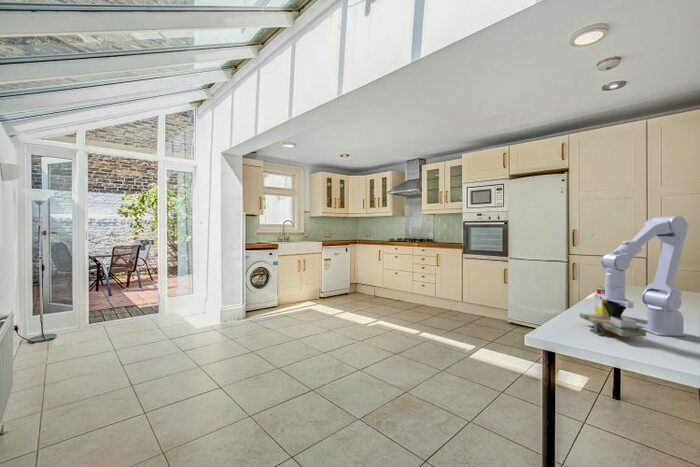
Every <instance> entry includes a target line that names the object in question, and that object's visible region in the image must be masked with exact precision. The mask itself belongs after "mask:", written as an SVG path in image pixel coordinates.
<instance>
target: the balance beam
mask: <svg viewBox="0 0 700 467" xmlns="http://www.w3.org/2000/svg"><path fill="white" fill-rule="evenodd" d="M579 318H580V319H583V320H585V321H588V322H589V323H592V324H594V322H600V323H601V328H602V329H607V330H609V331H611V332H614V333H616V334H618V335H620V336H619V337H647V331H646V330H643V329H641V328H638V327H636V331H629V330H620V329H618V328H616V327H613V326H611V325H610V318H609V316H606V315H604V314H601V313H598V314H595V313H593V314H591V313H589V314H588V313H583V312H580V313H579Z"/></svg>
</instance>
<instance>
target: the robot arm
mask: <svg viewBox="0 0 700 467" xmlns="http://www.w3.org/2000/svg"><path fill="white" fill-rule="evenodd" d="M688 228H689V223H688V222H687V220H686V219H685V218H684V217H683V216H681V215H675V216H651V217H650V218H648V220H647V221H645V222H644V227H642V229H641V230H640V231H639V232H637V234H636V235H635V236H634V237H633V238H632V239H631V240H630V239H628V240H624V241H622V242H621V244H620V245H619V246H618V247H616V249H614V250H613V251H612V252H611V253H607V254H605V255H604V256H603V257H602V258H601V260H600V264H601V266H602V268H603V273H604V276H605V277H604V287H605V294H598V299H603V300H606V301H607V303H603V305H604V306H605V308H606V310H607V312H608V315H609V318H610V316H622V315H623V313H624V311H626V309H634V304H635V303H634V302H633V301H630V300H629V299H626V270H627V269H629V268H630V266H631V263H632V261H633V259H634V258H636V256H637V255H638V254H640V253H641V252H642V250H643V248H642V246H644V245H645V244H646V243H648V242H649V241H650V240H651V239H653V238H654V237H655V238H657V239H659V240H661V242H662V248H661V252H660V254H659V260H658V265H657V268H656V272H655V276H654V280H653V282H651V283H649V284H647V285H646V287H645V289H644V291H643V292H642V294H641V302H642V303H643V304H644V305H645V308H647V327H640V329H641V330H644V331H646V332H649V333H651V334H653V335H656V336H666V337H667V336H668V337H669V336H670V337H671V336H673V337H675V336H677V337H679V336H680V337H684V336H686V334H685V333H684V330H685V329H684V324H685V323H684V320H685V318H684V316H683V313H682V312H680V310H679V309H680V307H681V306H682V298H681V297H682V292H681V290H679V289H678V288H677V287H676V286H675V282H676V279H677V278H676V277H677V274H678V270H679V265H680V262H681V257H682V252H683V249H684V244H685V240H686V236H687V234H688V230H689V229H688Z"/></svg>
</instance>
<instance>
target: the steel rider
mask: <svg viewBox="0 0 700 467" xmlns="http://www.w3.org/2000/svg"><path fill="white" fill-rule="evenodd" d="M610 325H611V326H613V327H616V328H618V329H620V330H629V331H636V328H637V320H634V319H633V318H630V317H627V316H622V315H621V316H610Z"/></svg>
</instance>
